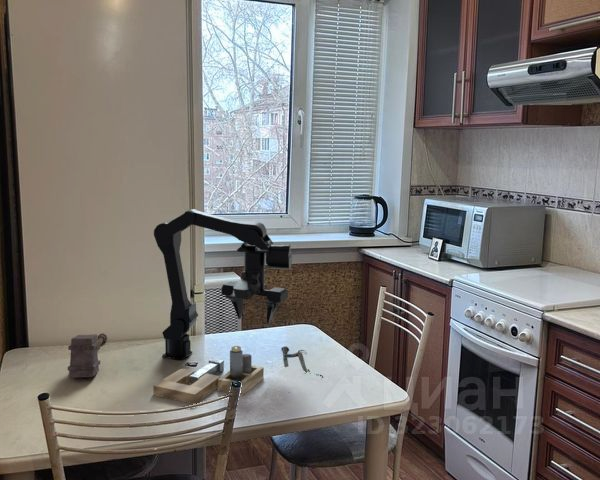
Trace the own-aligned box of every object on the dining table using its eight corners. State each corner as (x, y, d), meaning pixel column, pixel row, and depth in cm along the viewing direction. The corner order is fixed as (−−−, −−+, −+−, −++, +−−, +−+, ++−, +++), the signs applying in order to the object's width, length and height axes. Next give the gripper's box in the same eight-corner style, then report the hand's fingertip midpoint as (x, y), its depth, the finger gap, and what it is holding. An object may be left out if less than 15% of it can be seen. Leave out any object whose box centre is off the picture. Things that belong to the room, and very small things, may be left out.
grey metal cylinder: (227, 386, 147) (227, 348, 146) (233, 381, 150) (233, 344, 149) (238, 388, 146) (238, 350, 145) (244, 383, 149) (244, 346, 148)
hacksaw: (281, 350, 177) (281, 345, 177) (314, 349, 178) (314, 344, 178) (285, 382, 154) (285, 377, 154) (324, 381, 155) (324, 376, 154)
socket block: (153, 394, 143) (153, 385, 143) (181, 377, 154) (181, 368, 154) (195, 404, 139) (195, 394, 138) (220, 385, 150) (220, 376, 149)
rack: (217, 390, 147) (217, 365, 146) (240, 373, 158) (240, 349, 156) (242, 395, 144) (242, 369, 143) (263, 378, 155) (263, 353, 154)
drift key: (188, 384, 150) (187, 374, 149) (212, 367, 161) (212, 358, 160) (199, 386, 148) (199, 376, 148) (223, 370, 160) (223, 360, 159)
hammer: (66, 378, 149) (67, 339, 149) (92, 356, 181) (92, 324, 181) (94, 377, 150) (94, 338, 150) (114, 355, 182) (114, 323, 182)
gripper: (210, 269, 158) (210, 324, 161) (272, 277, 151) (271, 334, 154) (230, 262, 169) (230, 313, 171) (289, 268, 161) (288, 322, 164)
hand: (254, 320), depth 165 cm, fingers open, 9 cm apart
